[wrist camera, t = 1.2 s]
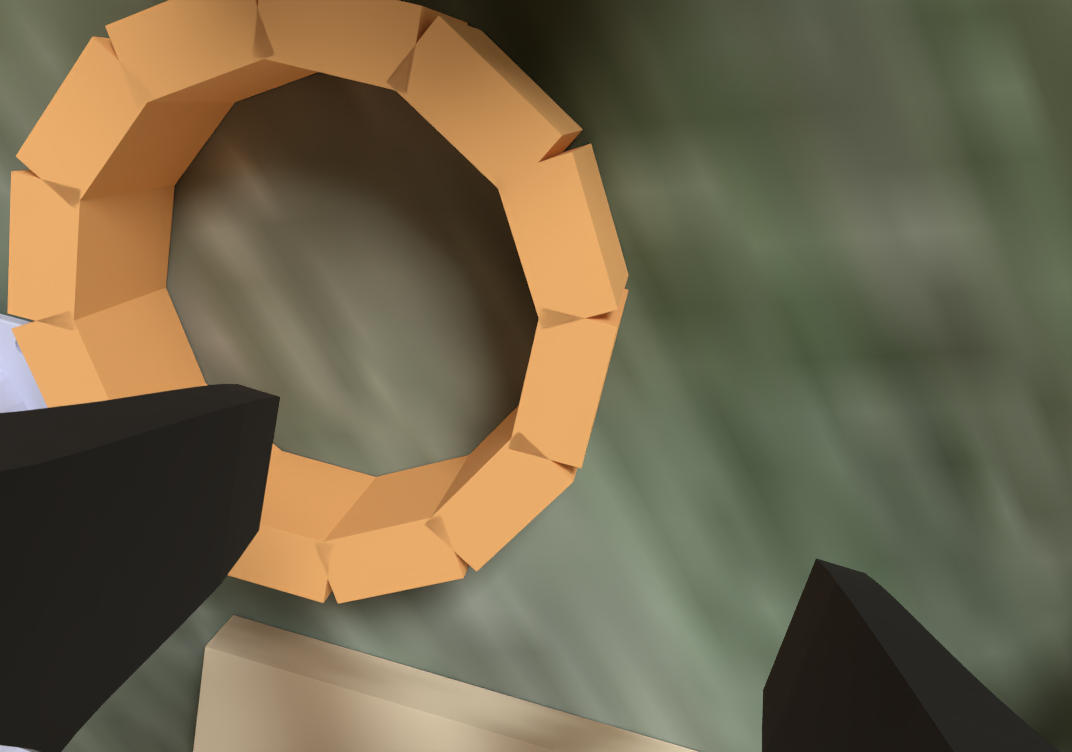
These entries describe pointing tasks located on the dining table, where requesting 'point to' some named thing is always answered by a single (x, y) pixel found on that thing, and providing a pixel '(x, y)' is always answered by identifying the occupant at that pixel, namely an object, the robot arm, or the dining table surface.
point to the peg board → (369, 705)
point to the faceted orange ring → (157, 334)
